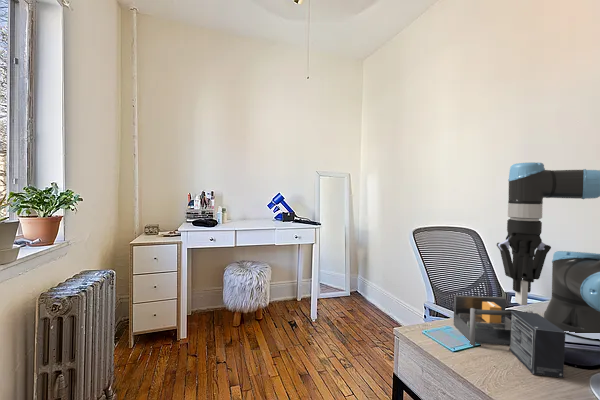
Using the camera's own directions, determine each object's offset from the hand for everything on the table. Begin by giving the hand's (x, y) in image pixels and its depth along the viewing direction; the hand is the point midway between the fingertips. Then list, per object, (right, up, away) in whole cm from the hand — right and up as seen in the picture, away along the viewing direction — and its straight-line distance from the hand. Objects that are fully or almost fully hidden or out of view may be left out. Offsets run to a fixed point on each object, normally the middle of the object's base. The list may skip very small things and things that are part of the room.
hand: (521, 303), depth 80 cm
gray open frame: (-9, -10, -4) cm, 14 cm away
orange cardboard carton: (-8, -6, +1) cm, 10 cm away
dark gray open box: (-8, -10, +1) cm, 13 cm away
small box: (-6, -10, -12) cm, 17 cm away
